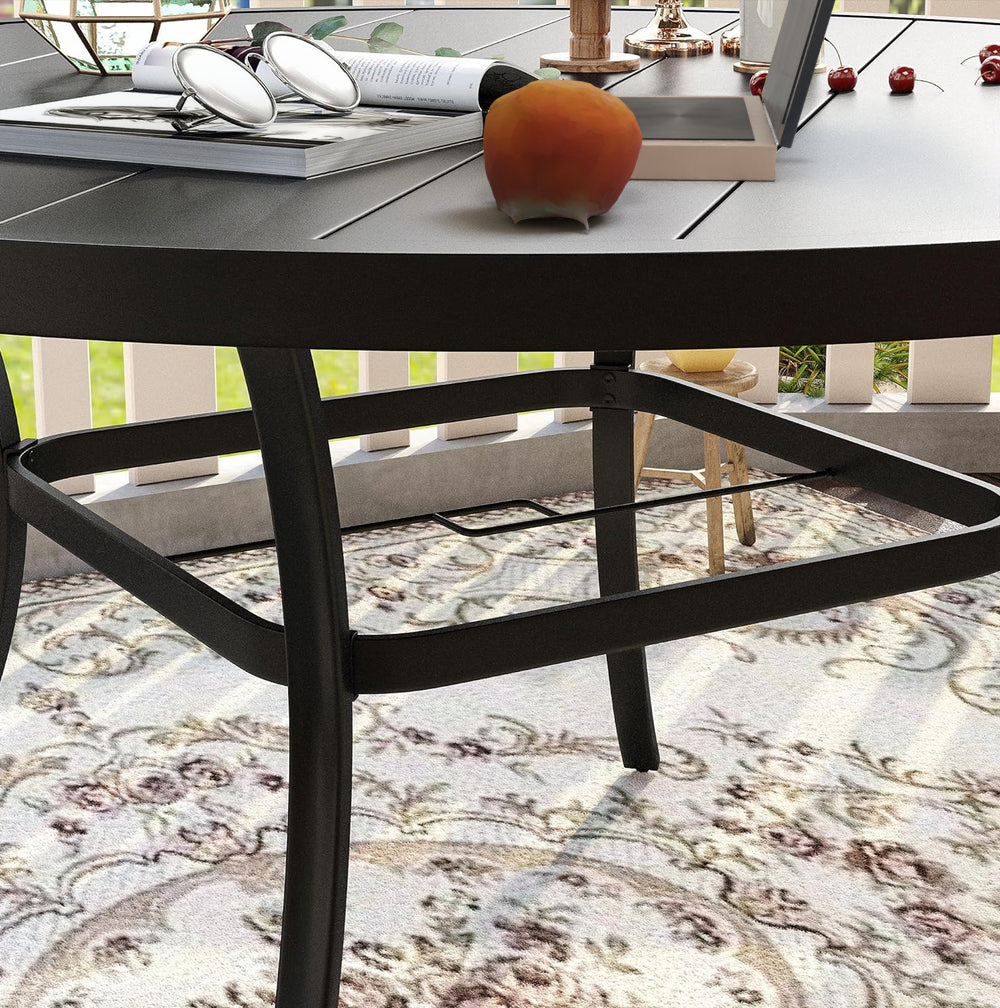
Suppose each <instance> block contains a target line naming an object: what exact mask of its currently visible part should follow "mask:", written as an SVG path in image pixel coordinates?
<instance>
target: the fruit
mask: <svg viewBox="0 0 1000 1008" xmlns="http://www.w3.org/2000/svg"><path fill="white" fill-rule="evenodd" d="M614 95H615V94H613V93H611V92H609V91H606V90H604V89H601V88H600V87H596V86H595V85H593V84H592V83H590V82H585V81H580V80H573V79H564V78H563V79H560V78H540V79H538V80H534V81H531V82H528V84H526V85H523V86H522V87H520V88H518V89H515V90H513V91H510V92H507V93H506V94H503V95H501V96H500V97H497V98H496V99H495V100H494V101H493V102H492V103H491V105H490V107H489V108H488V112H487V114H486V116H485V120H484V127H483V139H482V144H483V162H484V163H483V164H484V170H485V175H486V179H487V182H488V184H489V187H490V190H491V192H492V196H493V198H494V201H495V204H496V206H497V210H498V211H499V212H500V213H503V214H505V215H507V216H509V217H510V218H511V220H512V221H513V226H515V225H516V224H517V223H518V222H520V221H523V220H528V219H537V218H538V219H541V218H568V219H572V220H575V221H578V222H579V223H580V224H583V225H582V226H584V227H585V229H586V231H587V232H588V233H590V232H591V231H590V226H589V222H588V219H589V218H590V217H597V216H602V215H605V214H606V213H608V212H610V210H611V209H612V208H613V206H614V205H615V204H616V202H618V200H619V198H620V196H621V195H622V194H623V191H624V189H625V187H626V186H627V184H628V183H629V181H630V180H631V179H630V177H631V175H632V173H633V171H634V168H635V165H636V162H637V159H638V156H639V152H640V149H641V146H642V135H641V131H640V128H639V126H638V123H637V121H636V118H635V116H634V114H633V112H632V111H631V110H630V109H629V108H628V107H627V106H626V105H625V104H624V102H622V101H621V100H620V99H619V98H617V97H616V96H614Z"/></svg>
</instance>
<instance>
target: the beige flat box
mask: <svg viewBox="0 0 1000 1008" xmlns="http://www.w3.org/2000/svg"><path fill="white" fill-rule="evenodd" d="M613 95H614V96H616V97H617V98H619V99H620V100H621V101H622V102H624V104H625V105H626V106H627V107H628V108H629V109H630V110H631V111H632V112H633V114H634V116H635V118H636V121H637V123H638V126H639V128H640V131H641V135H642V146H641V149H640V152H639V156H638V159H637V162H636V165H635V168H634V171H633V173H632V175H631V177H630V179H629V180H664V181H665V180H667V181H668V180H669V181H670V180H671V181H674V180H675V181H677V180H678V181H757V182H758V181H760V182H762V181H763V182H764V181H766V182H767V181H768V182H774V181H775V180H776V169H777V156H778V155H777V154H778V145H777V142H776V140H775V137H774V135H773V134H774V133H773V131H772V128H771V126H770V123H769V120H768V117H767V114H766V110H765V108H764V105H763V102H762V98H761V97H760V96H761V95H652V94H651V95H641V94H640V95H635V94H634V95H633V94H632V95H631V94H630V95H626V94H625V95H624V94H621V95H620V94H619V95H617V94H616V95H615V94H613Z"/></svg>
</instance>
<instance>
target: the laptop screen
mask: <svg viewBox="0 0 1000 1008" xmlns="http://www.w3.org/2000/svg"><path fill="white" fill-rule="evenodd" d="M787 1H788V2H787V4H786V9H785V12H784V16H783V18H782V23H781V25H780V29H779V33H778V35H777V39H776V43H775V46H774V50H773V53H772V57H771V60H770V63H769V68H768V71H767V74H766V78H765V82H764V85H763V88H762V92H761V100H762V101H763V104H764V106H765V111H766V112H767V115H768V118H769V120H770V123H771V126H772V128H773V132H774V135H775V138H776V140H777V143H778V145H779V147H780V148H781V147H782V148H785V149H791V148H792V147H793V144H794V139H795V136H796V133H797V129H798V126H799V124H800V120H801V116H802V113H803V110H804V106H805V103H806V100H807V96H808V93H809V91H810V86H811V83H812V80H813V77H814V73H815V70H816V67H817V63H818V60H819V56H820V53H821V50H822V46H823V44H824V40H825V37H826V33H827V30H828V26H829V25H830V20H831V17H832V14H833V10H834V8H835V7H834V6H835V3H836V0H787Z"/></svg>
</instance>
